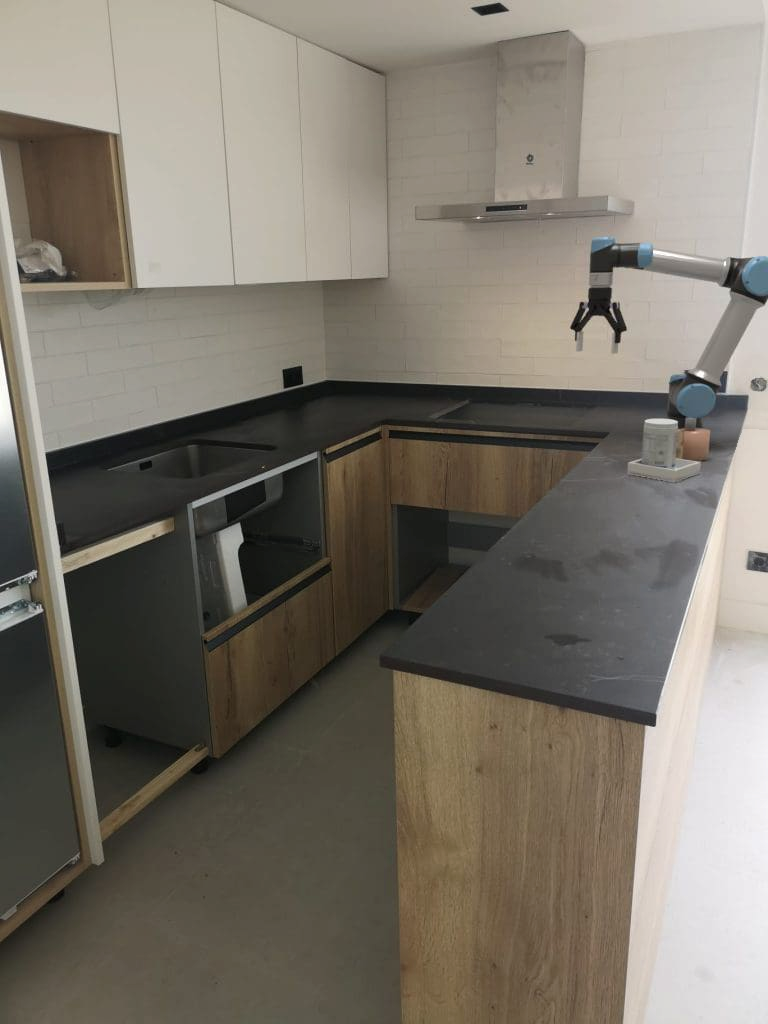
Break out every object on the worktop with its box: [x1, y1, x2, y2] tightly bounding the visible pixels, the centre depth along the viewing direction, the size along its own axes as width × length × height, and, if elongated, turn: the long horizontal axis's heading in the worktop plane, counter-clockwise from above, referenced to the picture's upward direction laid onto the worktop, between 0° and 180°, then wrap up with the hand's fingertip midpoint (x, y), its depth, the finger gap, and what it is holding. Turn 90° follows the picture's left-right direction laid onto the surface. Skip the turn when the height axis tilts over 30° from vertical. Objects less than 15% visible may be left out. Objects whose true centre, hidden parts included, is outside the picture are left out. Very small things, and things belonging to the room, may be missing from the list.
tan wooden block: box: [676, 429, 685, 459], centre depth 249 cm, size 12×2×11 cm, turn 133°
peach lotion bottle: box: [682, 417, 711, 462], centre depth 256 cm, size 9×9×13 cm
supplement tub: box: [641, 418, 678, 470], centre depth 236 cm, size 10×10×15 cm
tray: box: [626, 458, 702, 484], centre depth 237 cm, size 15×15×4 cm
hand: (596, 352), depth 271 cm, fingers open, 13 cm apart
